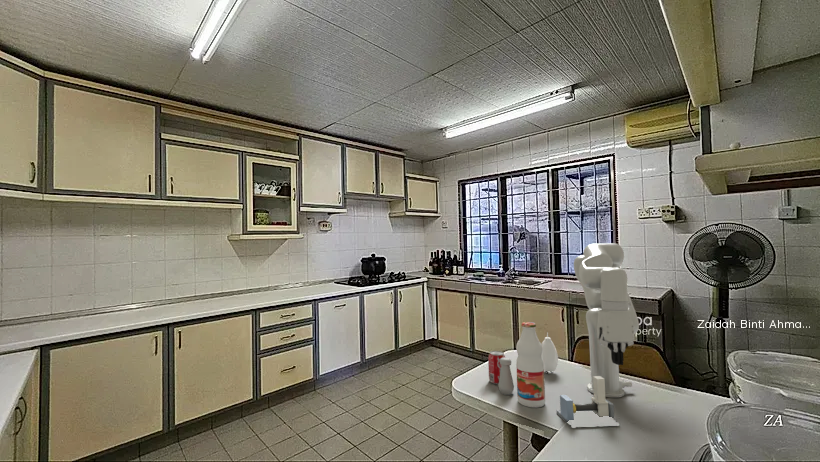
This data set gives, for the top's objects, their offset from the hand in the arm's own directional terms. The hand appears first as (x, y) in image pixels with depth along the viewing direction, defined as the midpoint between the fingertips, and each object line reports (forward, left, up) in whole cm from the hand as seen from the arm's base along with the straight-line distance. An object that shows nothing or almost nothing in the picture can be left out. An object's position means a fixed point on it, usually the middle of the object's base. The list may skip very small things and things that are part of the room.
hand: (617, 363), depth 113 cm
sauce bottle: (+3, -43, -18) cm, 47 cm away
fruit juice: (+23, -14, -18) cm, 33 cm away
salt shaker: (+29, -23, -18) cm, 41 cm away
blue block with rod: (+11, 0, -17) cm, 20 cm away
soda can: (+29, -34, -18) cm, 49 cm away
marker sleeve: (+6, 0, -16) cm, 17 cm away
